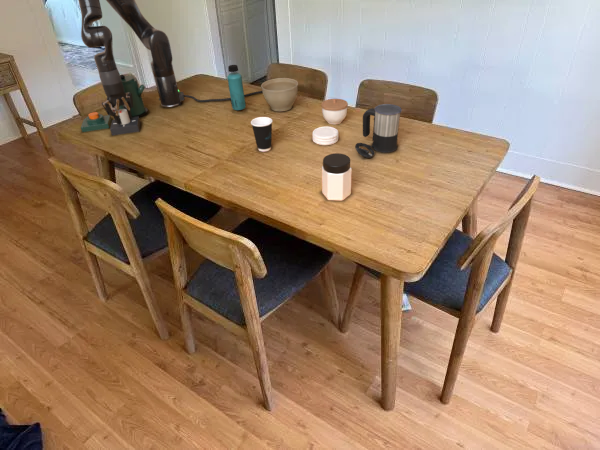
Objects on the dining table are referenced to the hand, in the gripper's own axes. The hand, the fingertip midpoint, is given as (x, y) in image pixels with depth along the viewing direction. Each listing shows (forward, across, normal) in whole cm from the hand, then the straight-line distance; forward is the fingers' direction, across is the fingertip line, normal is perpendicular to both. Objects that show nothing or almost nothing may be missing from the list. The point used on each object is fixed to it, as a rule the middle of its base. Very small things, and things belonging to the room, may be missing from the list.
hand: (124, 121), depth 174 cm
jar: (+3, +6, +103) cm, 103 cm away
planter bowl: (+3, -46, +49) cm, 68 cm away
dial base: (+4, 0, 0) cm, 4 cm away
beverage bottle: (+3, -36, +33) cm, 49 cm away
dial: (+1, 0, 0) cm, 1 cm away
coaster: (+3, -26, +82) cm, 86 cm away
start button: (0, +3, -15) cm, 16 cm away
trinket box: (+3, -43, +78) cm, 89 cm away
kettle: (+4, -13, -10) cm, 17 cm away
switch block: (+4, +3, -15) cm, 16 cm away
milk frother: (+3, -26, +103) cm, 106 cm away
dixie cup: (+3, -10, +65) cm, 66 cm away
